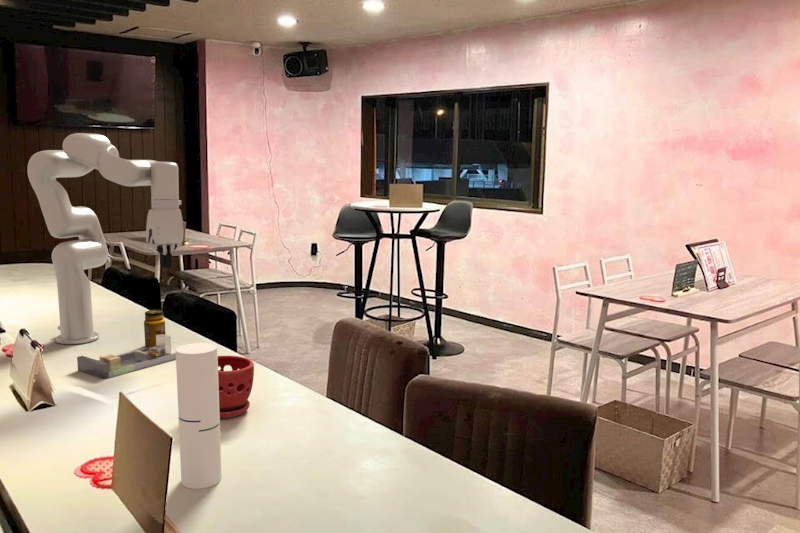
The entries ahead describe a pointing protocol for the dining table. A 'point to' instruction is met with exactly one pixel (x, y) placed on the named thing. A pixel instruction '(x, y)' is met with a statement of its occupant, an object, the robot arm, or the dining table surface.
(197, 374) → the cylindrical container
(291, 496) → the dining table surface
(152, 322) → the condiment
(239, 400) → the plant pot
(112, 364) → the beech block
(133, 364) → the tray
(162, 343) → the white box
